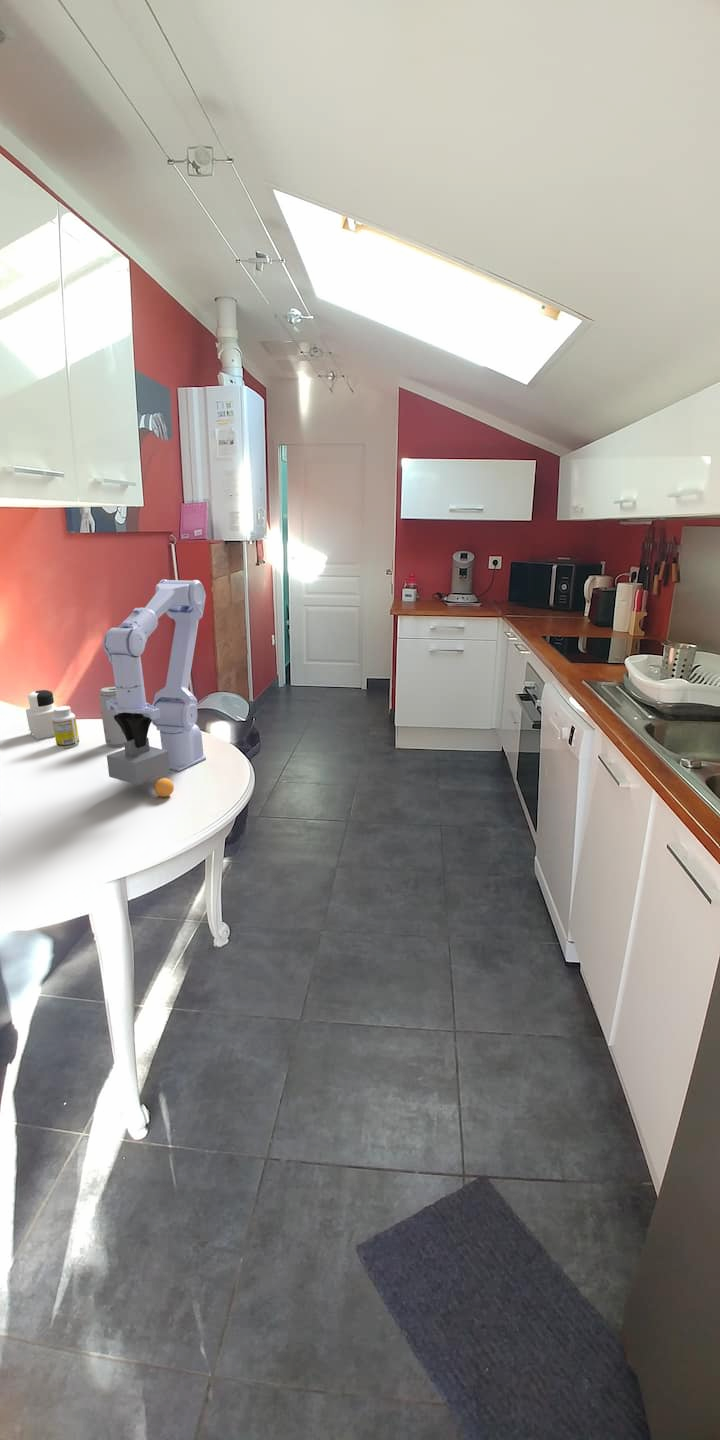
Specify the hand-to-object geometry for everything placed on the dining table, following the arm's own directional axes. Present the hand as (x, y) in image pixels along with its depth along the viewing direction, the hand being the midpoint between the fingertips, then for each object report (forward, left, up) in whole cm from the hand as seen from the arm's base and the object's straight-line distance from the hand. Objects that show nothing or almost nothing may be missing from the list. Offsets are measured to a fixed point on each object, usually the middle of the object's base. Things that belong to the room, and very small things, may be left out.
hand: (137, 745), depth 146 cm
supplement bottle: (-10, -39, -11) cm, 42 cm away
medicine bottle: (-13, -52, -11) cm, 55 cm away
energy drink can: (-17, -28, -11) cm, 35 cm away
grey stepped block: (0, 0, -7) cm, 7 cm away
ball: (0, +7, -8) cm, 11 cm away
